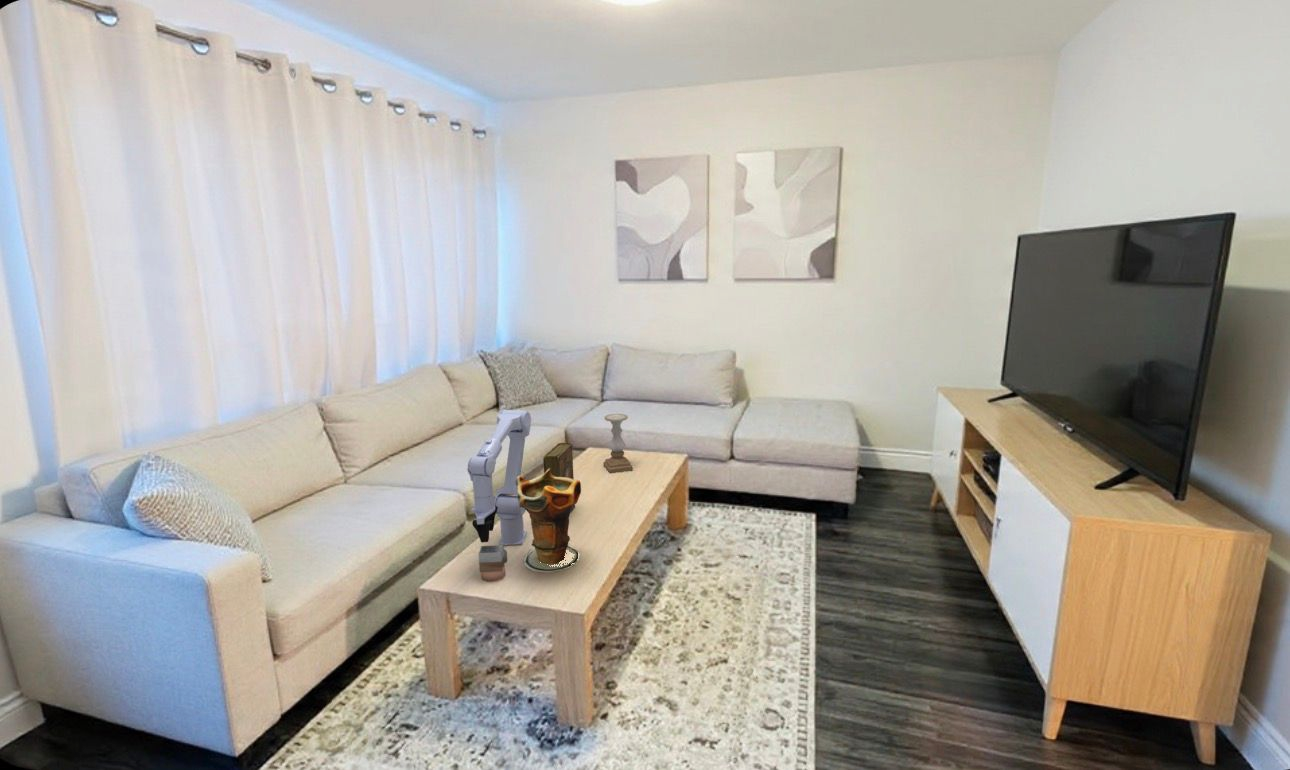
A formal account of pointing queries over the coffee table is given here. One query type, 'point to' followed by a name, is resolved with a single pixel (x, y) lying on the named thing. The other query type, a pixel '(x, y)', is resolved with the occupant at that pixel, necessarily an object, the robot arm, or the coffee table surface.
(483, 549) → the housing
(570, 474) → the book
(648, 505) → the coffee table surface
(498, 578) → the stand
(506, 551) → the stand
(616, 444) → the candle holder
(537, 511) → the decorative vase
